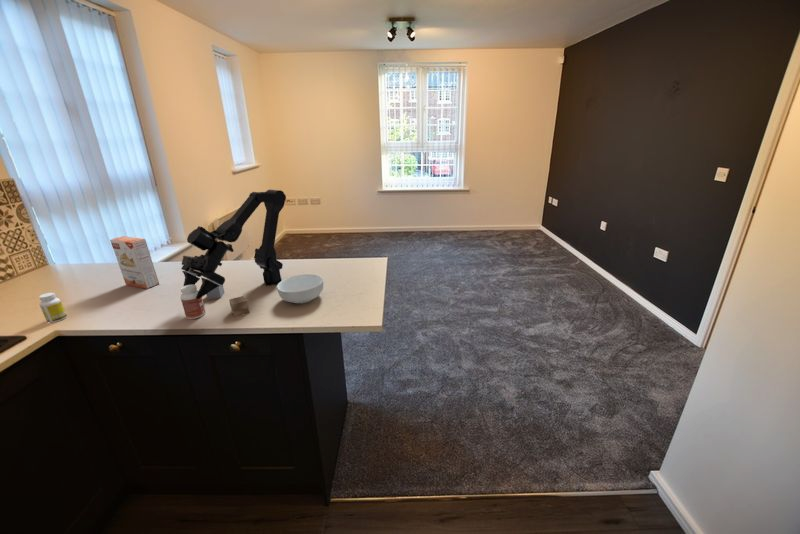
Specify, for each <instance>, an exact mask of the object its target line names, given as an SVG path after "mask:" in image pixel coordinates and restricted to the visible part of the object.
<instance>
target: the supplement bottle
mask: <svg viewBox="0 0 800 534" xmlns="http://www.w3.org/2000/svg"><path fill="white" fill-rule="evenodd" d="M38 297H39V300H40V303H39V307H40V309H41V312H42V314H43V316H44V318H45V321H46V322H47V323H48V322H54V323H58V322H62V321H63V320H66V318H67V317H68V315H67V313H66V310H65V308H64V306H63V303H62V301H61V299H60V298H58V297H57V296H56V294H55V292H47V293H46V292H45V293H44V294H43V293H42V294H40V295H39V296H38Z"/></svg>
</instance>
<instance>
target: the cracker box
mask: <svg viewBox="0 0 800 534" xmlns="http://www.w3.org/2000/svg"><path fill="white" fill-rule="evenodd" d="M109 240H110V241H109V242H110V244H111V246H112V249H113V252H114V256H115V258H116V261H117V263H118V267H119V269H120V272H121V274H122V278H123V281H124V283H125V285H127V286H131V287H136V288H141V289H145V290H148V289H150V287H151V288H153V287H155V286H157V285H159V284H160V281H159V279H158V275H157V272H156V270H155V267H154V263H153V260H152V256H151V253H150V250H149V246H148V243H147V241H146V239H145V238H141V237H133V236H124V235H123V236H120V237H116V238H115V237H114V238H112V239H109Z"/></svg>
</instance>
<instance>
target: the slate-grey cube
mask: <svg viewBox="0 0 800 534" xmlns="http://www.w3.org/2000/svg"><path fill="white" fill-rule="evenodd" d="M218 285H220V284H218ZM224 295H225V288H224V284H223V285H220V286H219V287H216V288H215V289H213V290H212V291H210V292H209V293H207V294H206V295H205V296H206V300H215V298H216V299H222V297H224Z"/></svg>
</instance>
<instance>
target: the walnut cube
mask: <svg viewBox="0 0 800 534" xmlns="http://www.w3.org/2000/svg"><path fill="white" fill-rule="evenodd" d="M228 300H229V305H230V308H231V309H230V310H231V312H232V315H233V316H235V318H237V317H240V316H244V315H246V314H250V308H249V303H248V300H247V299H246V297H245V295H241V296H238V297H234V298H230V299H228ZM243 314H244V315H243ZM236 316H237V317H236Z"/></svg>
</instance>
